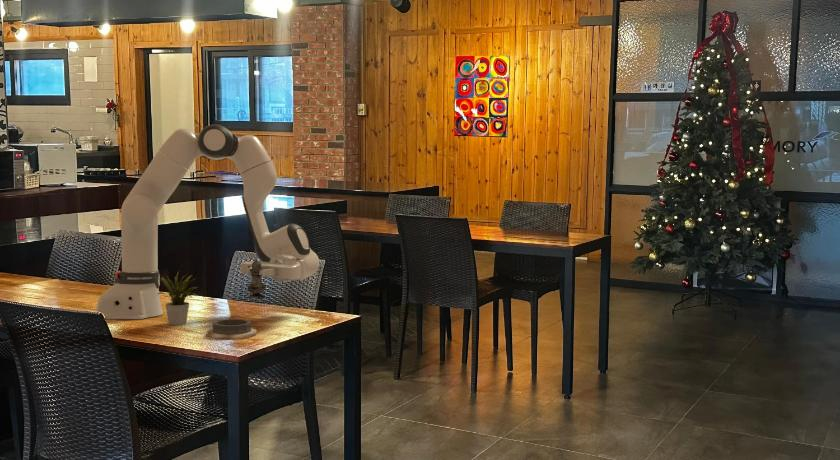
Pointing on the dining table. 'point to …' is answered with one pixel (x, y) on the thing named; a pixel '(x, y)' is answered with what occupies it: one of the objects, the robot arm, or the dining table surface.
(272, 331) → the dining table surface
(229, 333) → the collar holder
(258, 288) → the dark chess piece
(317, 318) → the dining table surface
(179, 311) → the house plant
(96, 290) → the dining table surface
